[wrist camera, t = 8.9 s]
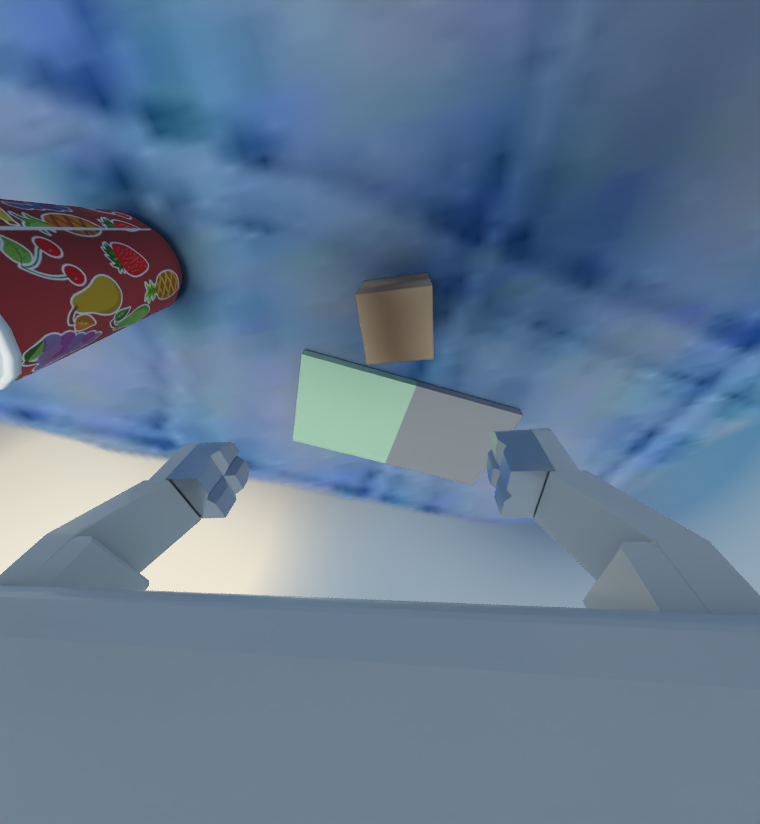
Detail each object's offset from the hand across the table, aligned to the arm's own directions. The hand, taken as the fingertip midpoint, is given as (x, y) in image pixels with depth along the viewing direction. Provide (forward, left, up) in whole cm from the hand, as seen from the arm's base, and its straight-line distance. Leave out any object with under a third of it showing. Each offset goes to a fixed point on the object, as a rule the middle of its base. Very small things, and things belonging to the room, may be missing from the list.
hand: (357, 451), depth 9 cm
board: (0, +12, -18) cm, 21 cm away
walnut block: (-1, 0, -18) cm, 18 cm away
